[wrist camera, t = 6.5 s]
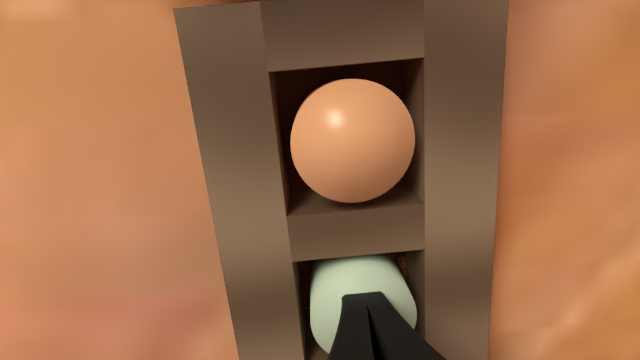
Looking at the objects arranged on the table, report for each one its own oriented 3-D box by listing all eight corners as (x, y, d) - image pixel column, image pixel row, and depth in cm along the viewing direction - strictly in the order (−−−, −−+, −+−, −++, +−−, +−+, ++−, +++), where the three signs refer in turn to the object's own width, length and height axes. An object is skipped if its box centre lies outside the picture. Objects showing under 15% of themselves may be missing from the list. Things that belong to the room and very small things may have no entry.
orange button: (395, 174, 13) (415, 196, 11) (299, 184, 13) (297, 207, 11) (393, 74, 12) (414, 73, 10) (288, 83, 12) (283, 85, 10)
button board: (455, 442, 17) (479, 500, 15) (275, 459, 17) (269, 520, 15) (468, -2, 12) (509, -22, 9) (200, 22, 12) (173, 8, 9)
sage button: (399, 312, 15) (417, 357, 12) (314, 320, 15) (315, 367, 12) (397, 233, 14) (416, 266, 11) (305, 242, 14) (305, 277, 11)
